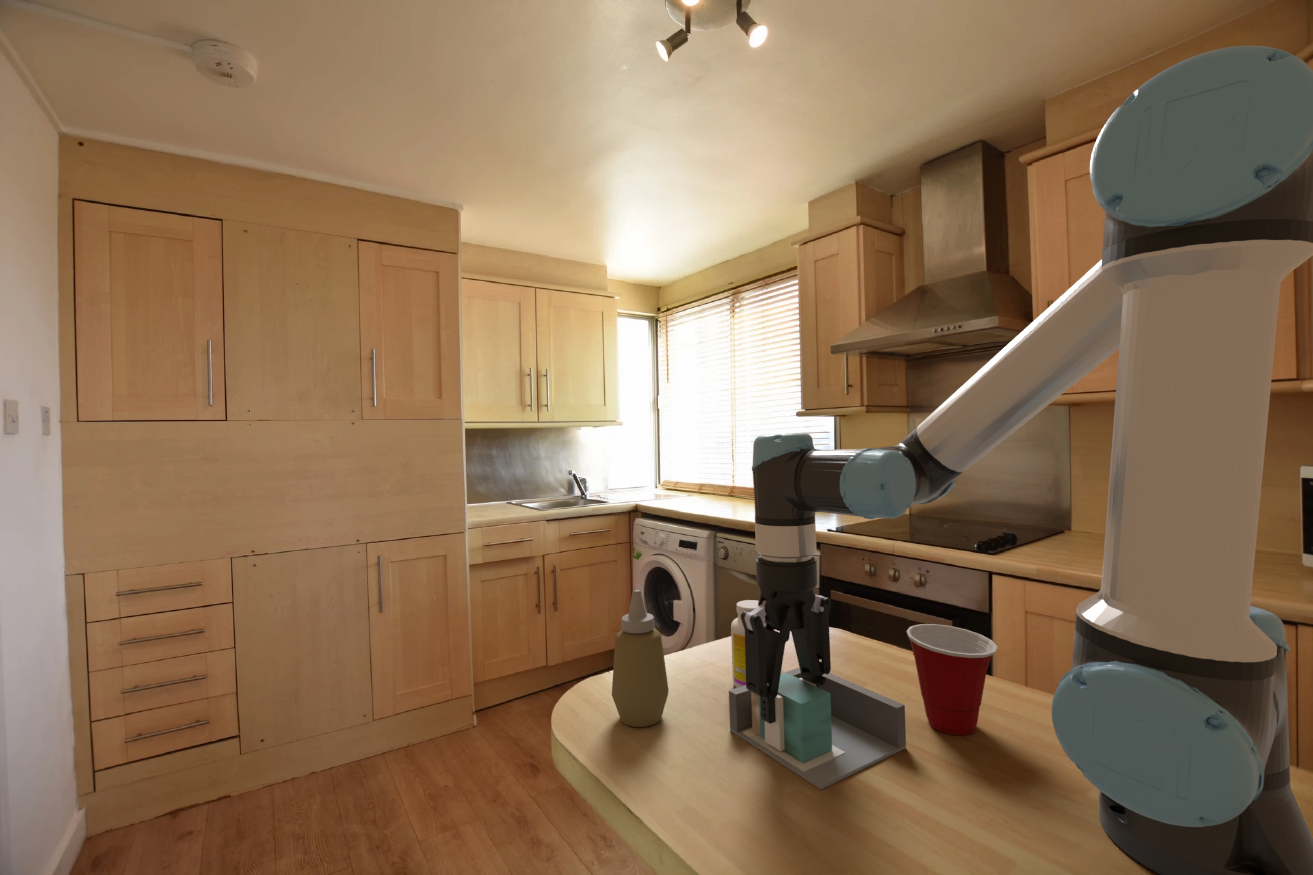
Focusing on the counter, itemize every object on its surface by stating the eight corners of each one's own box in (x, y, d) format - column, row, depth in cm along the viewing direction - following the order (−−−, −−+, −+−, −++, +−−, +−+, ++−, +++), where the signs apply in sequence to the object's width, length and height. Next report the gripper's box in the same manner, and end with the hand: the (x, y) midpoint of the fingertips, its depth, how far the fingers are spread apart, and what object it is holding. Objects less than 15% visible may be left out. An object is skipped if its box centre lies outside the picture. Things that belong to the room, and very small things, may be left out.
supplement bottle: (779, 693, 89) (776, 609, 89) (735, 695, 90) (732, 610, 90) (771, 675, 96) (768, 597, 96) (730, 677, 96) (728, 598, 96)
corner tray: (906, 748, 73) (904, 704, 73) (820, 789, 65) (819, 741, 65) (810, 700, 87) (808, 664, 87) (730, 730, 79) (728, 690, 79)
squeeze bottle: (638, 700, 89) (634, 581, 89) (681, 714, 84) (676, 588, 84) (600, 721, 83) (596, 593, 83) (644, 738, 78) (639, 602, 78)
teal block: (752, 731, 77) (750, 678, 77) (780, 720, 80) (779, 669, 80) (802, 762, 70) (800, 703, 70) (832, 749, 72) (830, 692, 72)
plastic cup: (1004, 753, 71) (1001, 654, 71) (907, 736, 76) (904, 643, 76) (996, 714, 81) (993, 627, 81) (910, 701, 86) (908, 618, 86)
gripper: (814, 542, 82) (819, 708, 83) (710, 560, 73) (716, 747, 73) (857, 550, 76) (863, 730, 76) (750, 571, 67) (757, 776, 67)
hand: (791, 738), depth 75 cm, fingers closed on teal block, 5 cm apart
